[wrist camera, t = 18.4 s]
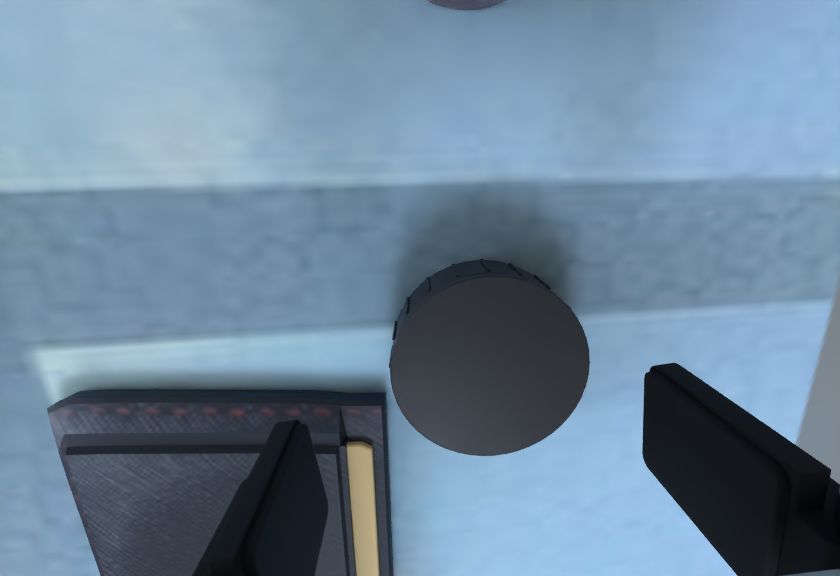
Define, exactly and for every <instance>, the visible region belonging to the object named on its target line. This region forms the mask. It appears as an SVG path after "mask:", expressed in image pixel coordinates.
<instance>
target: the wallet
mask: <svg viewBox="0 0 840 576" xmlns="http://www.w3.org/2000/svg"><path fill="white" fill-rule="evenodd" d="M47 410H48V415H49V419H50V423H51V426H52V430H53V433H54V437H55V441H56V444H57V448H58V452H59V455H60V458H61V461H62V464H63V467H64V470H65V473H66V476H67V479H68V482H69V485H70V488H71V491H72V494H73V497H74V500H75V503H76V505H77V508H78V511H79V514H80V517H81V520H82V523H83V526H84V528H85V531H86V534H87V537H88V540H89V543H90V546H91V549H92V552H93V554H94V557H95V560H96V563H97V566H98V569H99V572H100V575H101V576H192V575H193V573H194V571H195V569H196V567H197V565H198V563H199V562H200V560H201V558H202V556H203V554H204V552H205V550H206V548H207V546H208V545H209V543H210V541H211V539H212V537H213V535H214V533H215V531H216V529H217V527H218V526H219V524H220V522H221V520H222V518H223V516H224V514H225V512H226V510H227V509H228V507H229V505H230V503H231V501H232V499H233V497H234V495H235V493H236V491H237V490H238V488H239V486H240V484H241V483H242V481H243V480H244V479H246V478H248V476H249V474H250V472H251V470H252V468H253V466H254V464H255V462H256V460H257V458H258V456H259V454H260V452H261V451H262V449H263V447H264V445H265V443H266V441H267V439H268V437H269V435H270V433H271V431H272V429H273V427H274V425H275V424H276V423H277V422H281V421H288V420H294V419H298V420H299V421H300V422H301V424H307V426H308V429H309V432H310V436H311V440H312V443H313V447H314V451H315V455H316V458H317V462H318V466H319V470H320V473H321V477H322V481H323V485H324V488H325V492H326V496H327V500H328V517H327V522H326V526H325V531H324V535H323V540H322V544H321V549H320V553H319V558H318V562H317V567H316V571H315V576H393V557H392V534H391V510H390V486H389V462H388V438H387V413H386V393H338V392H324V391H291V390H106V391H80V392H78V393H75V394H73V395H71V396H69V397H67V398H65V399H62V400H60V401H58V402H57V403H55V404H54V405H52V406H50V407H49V408H47Z"/></svg>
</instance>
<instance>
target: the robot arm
mask: <svg viewBox="0 0 840 576" xmlns="http://www.w3.org/2000/svg"><path fill="white" fill-rule="evenodd" d="M643 459H644V461H645V464H646V466H647V467H648V469H649V470H650V471H651V472H652V473H653V475H654V476H655V477H656V478H657V479H658V481H659V482H660V483H661V484H662V485H663V487H664V488H665V489H666V490H667V491H668V493H669V494H670V495H671V496H672V497H673V499H674V500H675V501H676V502H677V503H678V505H679V506H680V507H681V508H682V509H683V511H684V512H685V513H686V514H687V515H688V517H689V518H690V519H691V520H692V521H693V523H694V524H695V525H696V526H697V527H698V529H699V530H700V531H701V532H702V534H703V535H704V536H705V537H706V538H707V540H708V541H709V542H710V543H711V544H712V546H713V547H714V548H715V549H716V550H717V552H718V553H719V554H720V555H721V556H722V558H723V559H724V560H725V561H726V562H727V564H728V565H729V566H730V567H731V568H732V570H733V571H734V572H735V573H736V574H737V576H840V484H838V483H837V482H835V481H834V480H833V479H831V478H830V474H831V469H829V468H828V467H826V466H825V465H823V464H822V463H821V462H819V461H818V460H816V459H815V458H813V457H812V456H811V455H809V454H808V453H806V452H805V451H803V450H802V449H800V448H799V447H798V446H796V445H795V444H793V443H792V442H790V441H789V440H787V439H786V438H784V437H783V436H782V435H780V434H779V433H777V432H776V431H774V430H773V429H771V428H770V427H769V426H767V425H766V424H764V423H763V422H761V421H760V420H758V419H757V418H756V417H754V416H753V415H751V414H750V413H748V412H747V411H745V410H744V409H742V408H741V407H740V406H738V405H737V404H735V403H734V402H732V401H731V400H729V399H728V398H727V397H725V396H724V395H722V394H721V393H719V392H718V391H716V390H715V389H714V388H712V387H711V386H709V385H708V384H706V383H705V382H703V381H702V380H701V379H699V378H698V377H696V376H695V375H693V374H692V373H690V372H689V371H687V370H686V369H685V368H683V367H682V366H680V365H679V364H677V363H669V364H662V365H656V366H652V367H651V369H650V372H647V373H646V374H645V378H644V415H643ZM327 517H328V500H327V496H326V492H325V488H324V485H323V481H322V477H321V473H320V470H319V466H318V462H317V458H316V455H315V451H314V447H313V443H312V440H311V436H310V432H309V429H308V426H307V424H301V422H300V421H299V420H298V419H294V420H288V421H281V422H277V423H276V424H275V425H274V427H273V429H272V431H271V433H270V435H269V437H268V439H267V441H266V443H265V445H264V447H263V449H262V451H261V452H260V454H259V456H258V458H257V460H256V462H255V464H254V466H253V468H252V470H251V472H250V474H249V476H248V478H246V479H244V480H243V481H242V483H241V484H240V486H239V488H238V490H237V491H236V493H235V495H234V497H233V499H232V501H231V503H230V505H229V507H228V509H227V510H226V512H225V514H224V516H223V518H222V520H221V522H220V524H219V526H218V527H217V529H216V531H215V533H214V535H213V537H212V539H211V541H210V543H209V545H208V546H207V548H206V550H205V552H204V554H203V556H202V558H201V560H200V562H199V563H198V565H197V567H196V569H195V571H194V573H193V575H192V576H315V571H316V567H317V562H318V558H319V553H320V549H321V544H322V540H323V535H324V531H325V526H326V522H327Z"/></svg>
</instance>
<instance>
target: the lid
mask: <svg viewBox="0 0 840 576" xmlns="http://www.w3.org/2000/svg"><path fill="white" fill-rule="evenodd" d="M550 289H551V288H550V287H549V286H548V285H547V284H546V283H544V282H543V281H542V280H541V279H540V278H539V277H537V276H536V275H534V276H532V275H531V274H530V273H528V272H526V271H524V270H522V269H520V268H518V267H515V266H514V265H513V264H512V263H509V264H506V263H502V262H497V261H487V260H483V259H480V261H470V262H464V263H460V264H457V265H454V264H452V266H450V267H448V268H446V269H443V270H441V271H439V272H438V273H436V274H434V275H433V276H431V277H427V278H426V281H424V282H423V283H422V284H421V285H420V286H419V287H418V288H417V289H416V290H415V291H414V292H413V293H412V294H411V296H410V297H407V299H406V303H405V305H404V307H403V308H402V310H401V313H400V315H399V318H398V320H397V321H395V326H394V332H393V339H392V340H394V341H393V346H392V349H391V356H390V363H389V368H390V377H391V385H392V389H393V393H394V396H395V399H396V402H397V404H398V406H399V408H400V410H401V411H402V413H403V415H404V416H405V417H406V419H407V420H408V421H409V423H410V424H411V425H412V426H413V427H414V428H415V429H416V430H417V431H418V432H419V433H421V434H422V435H423V436H424V437H426V438H427V439H429V440H430V441H432V442H433V443H435V444H437V445H439V446H441V447H444V448H446V449H448V450H452V451H455V452H458V453H463V454H468V455H477V456H493V455H501V454H507V453H511V452H515V451H519V450H521V449H524V448H527V447H529V446H531V445H533V444H535V443H537V442H539V441H541V440H543V439H544V438H546V437H547V436H549V435H550V434H552V433H553V432H554V431H555V430H556V429H558V428H559V427H560V426H561V425H562V424H563V423H564V422H565V421H566V420H567V419H568V417H569V416H570V415H571V413H572V412H573V411H574V409H575V408H576V406H577V404H578V403H579V401H580V399H581V397H582V394H583V392H584V389H585V387H586V383H587V379H588V374H589V364H590V361H589V348H588V343H587V339H586V336H585V333H584V331H583V328H582V326H581V324H580V322H579V320H578V319H577V317H576V316H575V314H574V313H573V312H572V310H571V308H570V307H569V306H568V305H567V304H566V303H564V302H563V301H562V300H561V299H560V298H559V297H558V296H557V295H556V294H554V293H553V292H552V291H551V290H550Z"/></svg>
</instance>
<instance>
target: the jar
mask: <svg viewBox="0 0 840 576" xmlns="http://www.w3.org/2000/svg"><path fill="white" fill-rule="evenodd" d="M428 1H430V2H432V3H434V4H437V5H440V6H443V7H447V8H451V9H460V10H475V9H481V8H487V7H491V6H494V5H497V4H499V3H502V2H504V1H506V0H428Z"/></svg>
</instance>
